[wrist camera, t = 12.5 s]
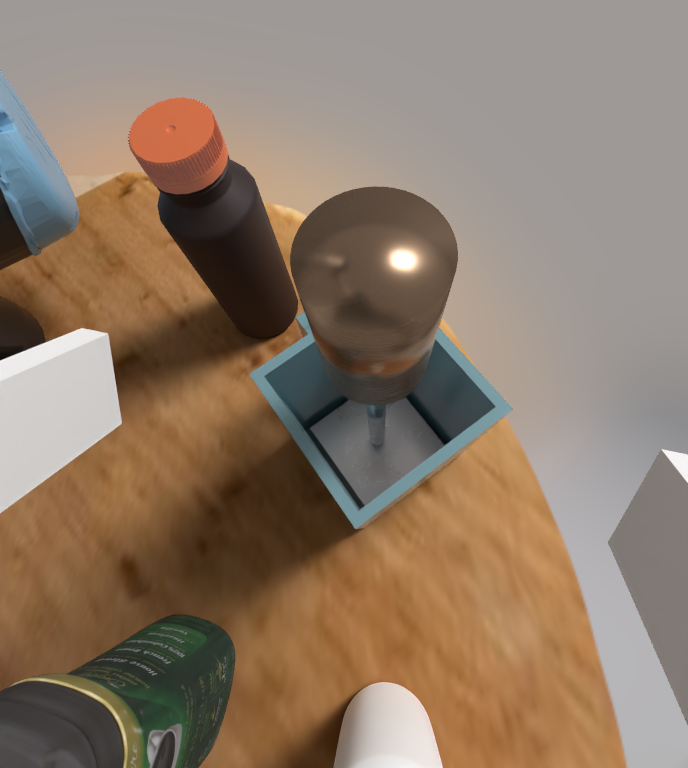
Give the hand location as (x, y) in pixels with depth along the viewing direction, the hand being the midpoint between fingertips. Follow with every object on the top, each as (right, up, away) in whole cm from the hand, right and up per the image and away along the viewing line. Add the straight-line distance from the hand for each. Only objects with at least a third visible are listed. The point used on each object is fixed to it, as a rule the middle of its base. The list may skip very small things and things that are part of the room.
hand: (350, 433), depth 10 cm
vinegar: (-8, +9, +32) cm, 34 cm away
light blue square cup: (+2, -3, +27) cm, 27 cm away
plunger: (+3, -3, +25) cm, 25 cm away
